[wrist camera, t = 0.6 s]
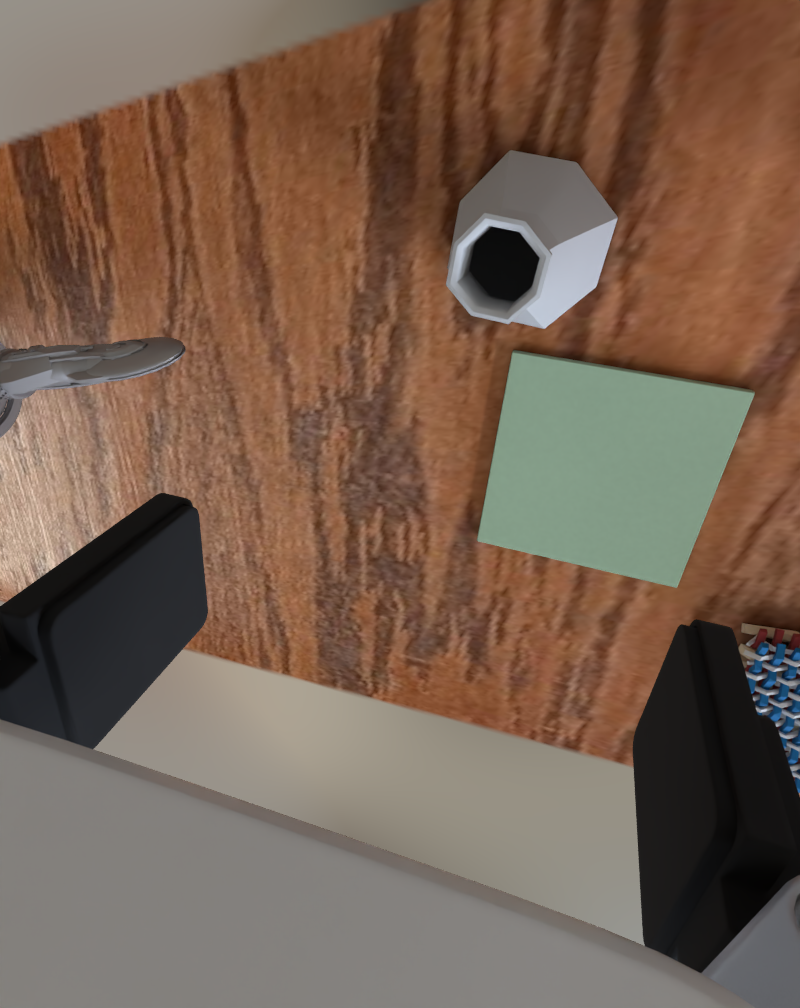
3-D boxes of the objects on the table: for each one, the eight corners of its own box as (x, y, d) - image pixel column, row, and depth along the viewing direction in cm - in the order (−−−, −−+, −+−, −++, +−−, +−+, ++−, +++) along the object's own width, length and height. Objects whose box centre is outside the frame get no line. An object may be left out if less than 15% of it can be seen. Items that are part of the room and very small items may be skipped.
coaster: (513, 349, 30) (512, 351, 29) (753, 389, 28) (755, 392, 27) (478, 536, 35) (476, 541, 35) (675, 582, 33) (676, 588, 32)
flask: (504, 116, 25) (456, 83, 17) (649, 207, 25) (674, 220, 17) (423, 274, 29) (351, 311, 21) (550, 353, 29) (529, 422, 21)
